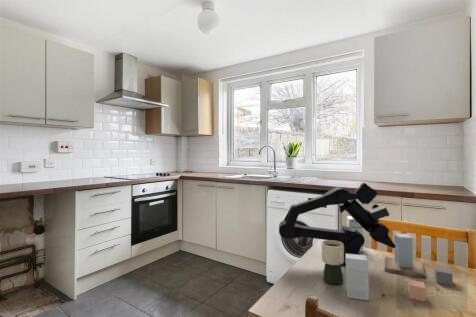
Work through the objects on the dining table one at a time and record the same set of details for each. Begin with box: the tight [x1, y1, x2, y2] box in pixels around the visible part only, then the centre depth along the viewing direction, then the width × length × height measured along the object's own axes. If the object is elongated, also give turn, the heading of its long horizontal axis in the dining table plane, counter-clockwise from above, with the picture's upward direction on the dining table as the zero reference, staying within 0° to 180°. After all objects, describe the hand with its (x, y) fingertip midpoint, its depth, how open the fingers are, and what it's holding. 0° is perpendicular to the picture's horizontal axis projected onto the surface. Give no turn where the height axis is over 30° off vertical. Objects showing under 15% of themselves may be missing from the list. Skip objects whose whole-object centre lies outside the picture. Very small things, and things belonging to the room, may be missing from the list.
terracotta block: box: [407, 279, 427, 303], centre depth 76 cm, size 4×4×4 cm
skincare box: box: [345, 254, 370, 301], centre depth 77 cm, size 6×4×12 cm
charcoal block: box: [434, 266, 454, 287], centre depth 85 cm, size 4×4×4 cm
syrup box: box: [346, 215, 364, 252], centre depth 116 cm, size 6×6×14 cm
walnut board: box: [384, 256, 426, 279], centre depth 96 cm, size 12×12×1 cm
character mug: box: [321, 240, 344, 284], centre depth 87 cm, size 11×7×13 cm, turn 14°
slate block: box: [393, 233, 414, 268], centre depth 96 cm, size 4×4×11 cm
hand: (390, 243), depth 97 cm, fingers open, 9 cm apart
